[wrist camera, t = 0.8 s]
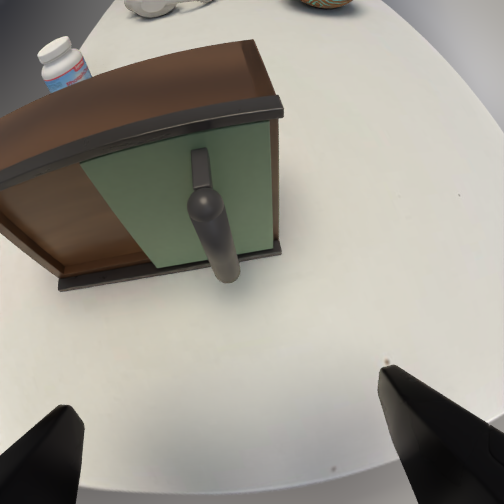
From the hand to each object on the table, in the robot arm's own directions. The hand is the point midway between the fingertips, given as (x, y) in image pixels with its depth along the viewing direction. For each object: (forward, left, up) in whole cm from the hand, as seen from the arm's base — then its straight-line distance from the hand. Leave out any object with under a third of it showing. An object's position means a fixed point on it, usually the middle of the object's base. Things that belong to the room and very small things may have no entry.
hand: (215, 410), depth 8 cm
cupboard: (+13, +10, -15) cm, 22 cm away
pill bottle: (+31, +29, -15) cm, 46 cm away
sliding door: (+9, +4, -14) cm, 17 cm away
